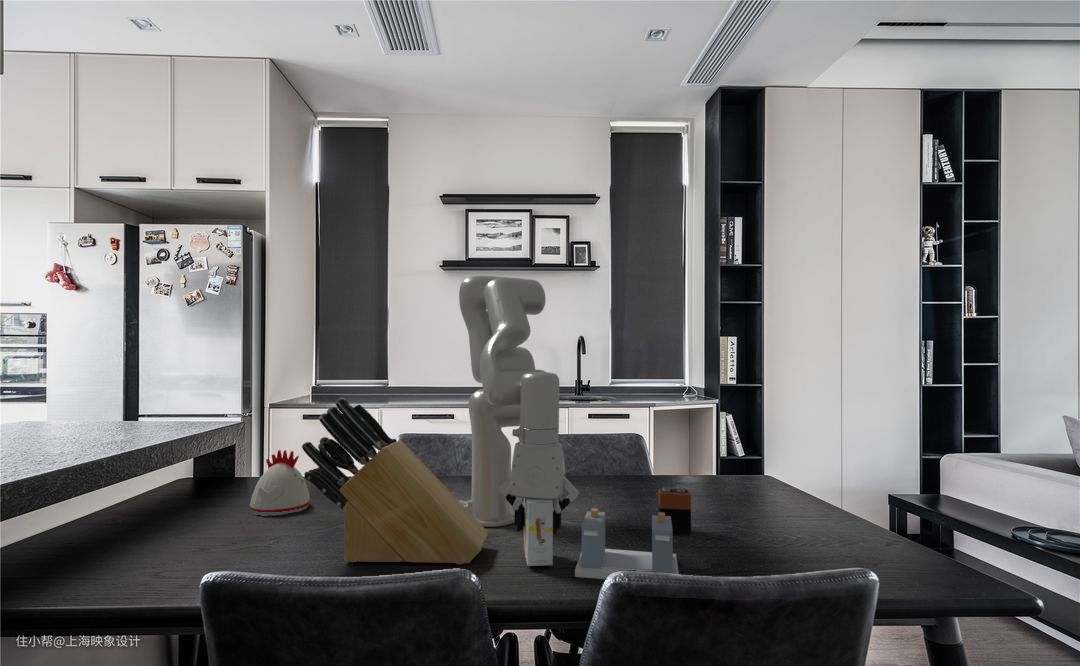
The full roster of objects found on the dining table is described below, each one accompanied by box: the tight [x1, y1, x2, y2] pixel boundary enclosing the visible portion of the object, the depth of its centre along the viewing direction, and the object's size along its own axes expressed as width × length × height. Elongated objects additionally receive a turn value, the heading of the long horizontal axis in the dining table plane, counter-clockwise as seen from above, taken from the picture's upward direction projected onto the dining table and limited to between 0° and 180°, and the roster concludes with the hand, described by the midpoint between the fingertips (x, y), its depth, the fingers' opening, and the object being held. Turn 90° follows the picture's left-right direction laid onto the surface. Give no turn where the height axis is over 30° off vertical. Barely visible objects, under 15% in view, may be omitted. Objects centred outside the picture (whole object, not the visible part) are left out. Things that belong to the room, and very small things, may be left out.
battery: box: [657, 486, 692, 536], centre depth 122 cm, size 4×7×10 cm, turn 83°
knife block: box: [301, 397, 489, 565], centre depth 107 cm, size 11×35×31 cm, turn 87°
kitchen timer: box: [249, 449, 311, 512], centre depth 140 cm, size 14×14×15 cm
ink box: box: [522, 498, 554, 567], centre depth 103 cm, size 9×5×12 cm, turn 7°
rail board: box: [574, 507, 680, 580], centre depth 100 cm, size 18×12×10 cm, turn 78°
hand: (537, 529), depth 103 cm, fingers closed on ink box, 6 cm apart
